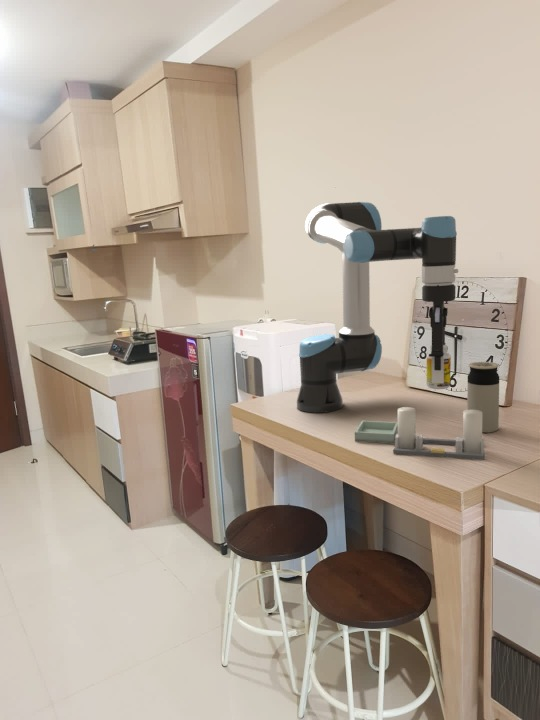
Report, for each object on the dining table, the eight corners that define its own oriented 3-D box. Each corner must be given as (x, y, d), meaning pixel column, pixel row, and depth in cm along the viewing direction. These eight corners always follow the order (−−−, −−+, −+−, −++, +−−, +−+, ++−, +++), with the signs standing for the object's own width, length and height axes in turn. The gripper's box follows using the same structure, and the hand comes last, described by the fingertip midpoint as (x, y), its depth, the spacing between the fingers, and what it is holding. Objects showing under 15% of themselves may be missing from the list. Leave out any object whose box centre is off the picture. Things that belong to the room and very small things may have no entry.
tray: (354, 441, 146) (354, 432, 145) (362, 429, 155) (361, 420, 154) (393, 443, 142) (393, 434, 142) (398, 431, 151) (398, 422, 151)
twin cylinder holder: (393, 453, 135) (392, 415, 133) (398, 440, 144) (397, 403, 142) (484, 460, 127) (485, 419, 126) (483, 445, 137) (484, 406, 135)
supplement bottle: (440, 391, 129) (440, 348, 127) (421, 387, 134) (421, 346, 132) (455, 386, 132) (455, 345, 130) (437, 383, 137) (437, 343, 135)
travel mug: (479, 435, 144) (480, 368, 141) (461, 426, 152) (461, 363, 149) (504, 430, 147) (506, 365, 143) (485, 422, 154) (486, 360, 151)
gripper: (454, 286, 118) (453, 389, 123) (456, 280, 135) (455, 371, 140) (418, 287, 121) (419, 388, 125) (425, 281, 138) (425, 371, 142)
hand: (438, 379), depth 133 cm, fingers closed on supplement bottle, 6 cm apart
